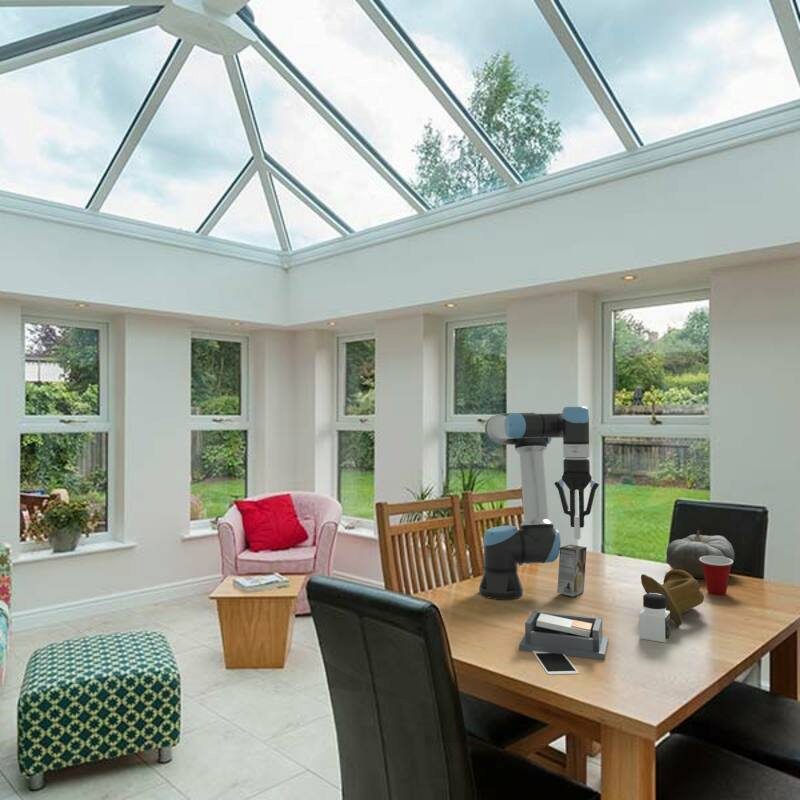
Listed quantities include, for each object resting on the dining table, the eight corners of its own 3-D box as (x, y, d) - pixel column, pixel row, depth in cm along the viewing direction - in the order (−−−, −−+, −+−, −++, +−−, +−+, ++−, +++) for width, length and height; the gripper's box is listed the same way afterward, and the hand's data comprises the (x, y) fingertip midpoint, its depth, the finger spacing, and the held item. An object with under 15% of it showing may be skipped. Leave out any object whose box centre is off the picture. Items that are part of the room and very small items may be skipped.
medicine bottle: (666, 643, 183) (665, 599, 184) (639, 638, 187) (638, 595, 187) (670, 635, 189) (670, 593, 190) (644, 631, 193) (644, 590, 193)
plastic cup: (700, 595, 231) (699, 560, 231) (699, 588, 241) (698, 554, 241) (735, 598, 227) (734, 563, 227) (732, 590, 237) (732, 556, 237)
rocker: (536, 625, 181) (536, 619, 181) (540, 618, 187) (541, 612, 187) (589, 637, 176) (590, 630, 176) (591, 629, 182) (592, 622, 182)
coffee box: (567, 588, 240) (570, 543, 241) (584, 592, 236) (587, 547, 237) (556, 592, 233) (559, 546, 233) (573, 597, 229) (577, 550, 229)
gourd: (748, 567, 261) (739, 524, 261) (724, 589, 244) (714, 543, 244) (685, 564, 280) (677, 523, 279) (659, 584, 263) (650, 541, 262)
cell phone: (561, 652, 178) (561, 649, 178) (579, 675, 162) (579, 673, 162) (532, 653, 178) (532, 650, 178) (547, 676, 162) (547, 673, 162)
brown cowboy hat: (604, 584, 212) (657, 559, 227) (623, 635, 208) (676, 606, 223) (662, 575, 193) (716, 549, 208) (684, 632, 189) (737, 600, 204)
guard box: (519, 649, 179) (518, 623, 179) (528, 633, 192) (528, 609, 192) (604, 660, 171) (604, 632, 171) (608, 642, 184) (608, 617, 184)
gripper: (552, 458, 197) (553, 539, 196) (598, 459, 192) (599, 542, 191) (555, 457, 204) (556, 535, 203) (600, 458, 199) (601, 537, 198)
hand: (577, 538), depth 197 cm, fingers closed
